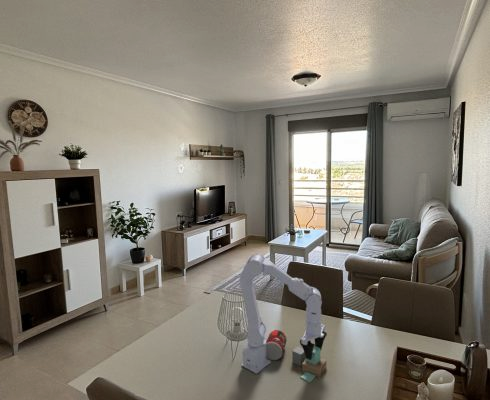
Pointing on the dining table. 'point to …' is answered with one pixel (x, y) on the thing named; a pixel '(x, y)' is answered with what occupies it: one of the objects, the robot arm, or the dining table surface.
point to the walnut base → (314, 367)
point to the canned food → (275, 345)
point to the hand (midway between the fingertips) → (313, 354)
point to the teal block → (315, 356)
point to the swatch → (308, 376)
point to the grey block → (298, 356)
